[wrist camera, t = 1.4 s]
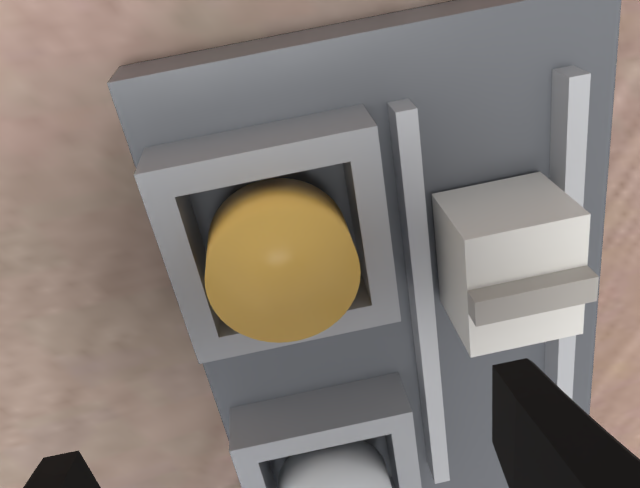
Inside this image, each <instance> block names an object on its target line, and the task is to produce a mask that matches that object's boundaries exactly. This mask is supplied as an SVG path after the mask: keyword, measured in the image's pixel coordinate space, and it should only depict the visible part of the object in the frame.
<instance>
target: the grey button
mask: <svg viewBox="0 0 640 488" xmlns="http://www.w3.org/2000/svg"><path fill="white" fill-rule="evenodd" d="M278 488H392V486H391V482H390V479H389V475H388V471H387V468H386V464H385V460H384V458H383V456H382V455H381V453H380V452H379V451H378V450H377V449H376V448H375V447H373V446H372V445H370V444H368V443H367V442H364V441H362V440H361V441H356V442H352V443H347V444H342V445H338V446H333V447H329V448H324V449H319V450H315V451H310V452H305V453H301V454H296V455H292V456H290V457H289V458H288V459H287V460H286V461H285V463H284V464H283V466H282V467H281V470H280V472H279V476H278Z"/></svg>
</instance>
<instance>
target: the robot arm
mask: <svg viewBox="0 0 640 488" xmlns="http://www.w3.org/2000/svg"><path fill="white" fill-rule="evenodd" d="M492 443H493V446H494V448H495V451H496V454H497V457H498V460H499V462H500V465H501V468H502V471H503V473H504V476H505V479H506V481H507V484H508V487H509V488H640V459H639V458H637V457H636V456H635V455H634V454H633V453H632V452H630V451H629V450H628V449H627V448H626V447H624V446H623V445H622V444H621V443H620V442H619V441H617V440H616V439H615V438H614V437H613V436H612V435H610V434H609V433H608V432H607V431H606V430H605V429H604V428H603V427H601V426H600V425H599V424H598V423H597V422H596V421H595V420H594V419H592V418H591V417H590V416H589V415H588V414H587V413H586V412H585V411H584V410H583V409H582V408H580V407H579V406H578V405H577V404H576V403H575V402H574V401H573V400H572V399H571V398H570V397H569V396H568V395H567V394H565V393H564V392H563V391H562V390H561V389H560V388H559V387H558V386H557V385H556V384H555V383H554V382H553V381H552V380H551V379H550V378H549V377H548V376H547V375H546V374H545V373H544V372H543V371H542V370H541V369H540V368H539V367H538V366H537V365H536V364H535V363H534V362H532V361H531V360H529V359H528V358H524V359H520V360H515V361H510V362H505V363H500V364H495V365H492ZM23 488H101V487H100V486H99V484H98V482H97V481H96V479H95V477H94V476H93V474H92V472H91V471H90V469H89V467H88V465H87V464H86V462H85V460H84V459H83V457H82V455H81V454H80V452H79V451H74V452H69V453H65V454H60V455H55V456H50V457H45V458H43V459H42V461H41V462H40V464H39V465H38V467H37V468H36V469H35V471H34V472H33V474H32V475H31V477H30V478H29V480H28V481H27V483H26V484H25V486H24V487H23Z"/></svg>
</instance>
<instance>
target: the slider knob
mask: <svg viewBox="0 0 640 488" xmlns="http://www.w3.org/2000/svg"><path fill="white" fill-rule="evenodd" d="M432 205H433V217H434V229H435V242H436V254H437V266H438V279H439V291H440V301H441V303H442V305H443V307H444V309H445V310H446V312H447V314H448V316H449V318H450V320H451V322H452V324H453V325H454V327H455V329H456V331H457V333H458V335H459V337H460V339H461V340H462V342H463V344H464V346H465V348H466V350H467V352H468V354H469V355H470V357H471V358H472V357H477V356H481V355H486V354H491V353H495V352H500V351H505V350H509V349H514V348H519V347H523V346H528V345H533V344H537V343H542V342H547V341H551V340H556V339H561V338H565V337H570V336H575V335H579V334H583V326H584V311H585V304H586V303H590V302H595V301H597V295H598V282H599V276H598V275H597V274H596V273H595V272H594V271H593V270H592V269H591V268H590V267H589V266H588V265H587V264H588V249H589V233H590V217H591V214H590V213H589V212H588V211H587V210H585V209H584V208H583V207H582V206H581V205H579V204H578V203H577V202H576V201H575V200H573V199H572V198H571V197H570V196H569V195H567V194H566V193H565V192H564V191H563V190H562V189H560V188H559V187H558V186H557V185H556V184H554V183H553V182H552V181H551V180H550V179H548V178H547V177H546V176H545V175H544V174H542V173H541V172H535V173H531V174H526V175H521V176H516V177H511V178H506V179H501V180H497V181H492V182H487V183H482V184H477V185H472V186H467V187H463V188H458V189H453V190H448V191H443V192H438V193H433V194H432Z"/></svg>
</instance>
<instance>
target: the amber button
mask: <svg viewBox="0 0 640 488" xmlns="http://www.w3.org/2000/svg"><path fill="white" fill-rule="evenodd" d="M360 275H361V271H360V262H359V258H358V254H357V252H356V249H355V246H354V243H353V241H352V238H351V235H350V232H349V229H348V227H347V224H346V221H345V219H344V216H343V214H342V212H341V210H340V209H339V207H338V205H337V204H336V203H335V202H334V200H333V199H332V198H331V197H329V196H328V195H327V194H326V193H325V192H323V191H322V190H321V189H319V188H317V187H315V186H313V185H312V184H309V183H306V182H304V181H300V180H296V179H289V178H271V179H264V180H260V181H257V182H254V183H251V184H249V185H246V186H244V187H242V188H241V189H239V190H237V191H236V192H235V193H233V194H232V195H230V196H229V197H228V198H227V199H226V200H225V201H224V202H223V203H222V205H221V206H220V207H219V209H218V210H217V212H216V213H215V215H214V217H213V219H212V222H211V224H210V228H209V232H208V243H207V255H206V267H205V289H206V293H207V297H208V300H209V302H210V304H211V306H212V308H213V310H214V311H215V313H216V314H217V315H218V316H219V318H220V319H221V320H222V321H223V322H224V323H225V324H226V325H228V326H229V327H230V328H232V329H233V330H235V331H236V332H238V333H240V334H242V335H244V336H247V337H249V338H252V339H256V340H259V341H265V342H275V343H283V342H293V341H299V340H303V339H306V338H309V337H312V336H314V335H317V334H319V333H321V332H323V331H325V330H326V329H328V328H329V327H331V326H332V325H333V324H335V323H336V322H337V321H338V320H339V319H340V318H341V317H342V316H343V315H344V314H345V313H346V312H347V310H348V309H349V307H350V306H351V304H352V303H353V301H354V299H355V297H356V294H357V291H358V288H359V284H360Z"/></svg>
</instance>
